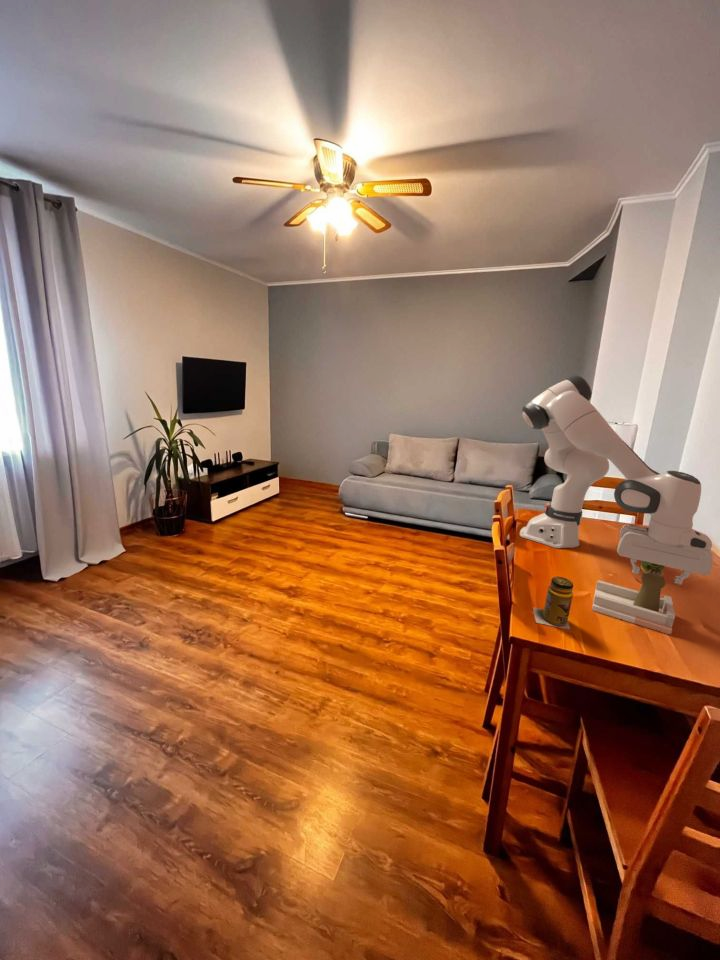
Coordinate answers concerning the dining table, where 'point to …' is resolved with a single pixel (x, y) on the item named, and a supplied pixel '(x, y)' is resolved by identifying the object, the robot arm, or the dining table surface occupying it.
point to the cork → (650, 592)
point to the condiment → (556, 604)
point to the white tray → (632, 607)
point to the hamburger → (652, 568)
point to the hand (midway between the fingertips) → (655, 578)
